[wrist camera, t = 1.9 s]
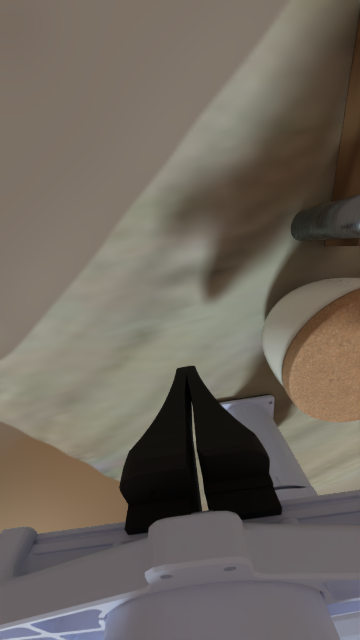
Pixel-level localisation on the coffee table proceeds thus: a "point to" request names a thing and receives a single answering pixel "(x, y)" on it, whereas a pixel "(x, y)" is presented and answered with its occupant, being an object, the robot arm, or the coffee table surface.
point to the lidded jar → (318, 348)
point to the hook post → (329, 221)
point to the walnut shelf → (349, 145)
